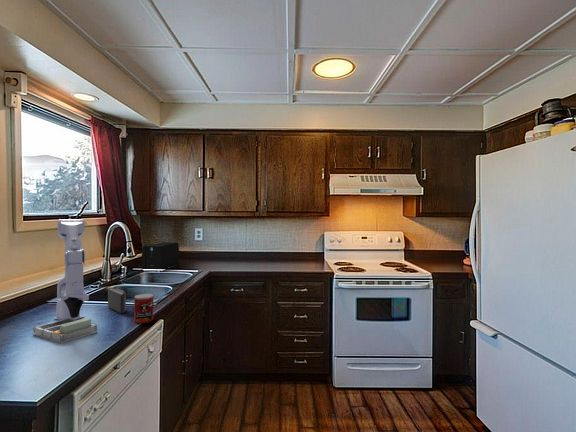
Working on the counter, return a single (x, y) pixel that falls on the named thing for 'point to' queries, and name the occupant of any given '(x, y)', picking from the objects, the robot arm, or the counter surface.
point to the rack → (54, 334)
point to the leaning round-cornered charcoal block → (117, 300)
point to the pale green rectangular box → (75, 325)
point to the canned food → (143, 308)
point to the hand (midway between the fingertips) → (74, 317)
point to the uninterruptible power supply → (160, 255)
